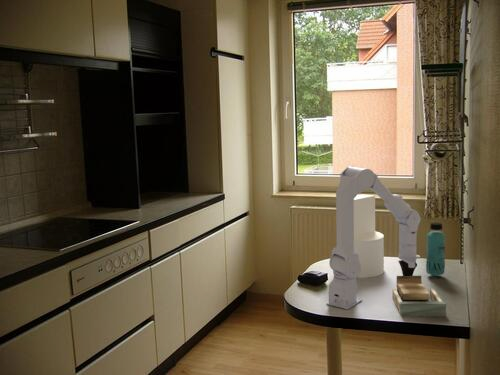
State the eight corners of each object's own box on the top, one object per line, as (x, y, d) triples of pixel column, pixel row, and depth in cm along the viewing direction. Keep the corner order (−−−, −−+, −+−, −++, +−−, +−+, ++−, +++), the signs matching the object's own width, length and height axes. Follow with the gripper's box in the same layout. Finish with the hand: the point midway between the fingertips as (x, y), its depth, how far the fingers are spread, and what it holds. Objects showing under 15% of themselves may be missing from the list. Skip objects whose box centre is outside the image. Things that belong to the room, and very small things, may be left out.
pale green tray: (445, 316, 159) (446, 303, 158) (401, 316, 160) (401, 303, 160) (433, 297, 174) (433, 285, 174) (392, 297, 176) (392, 286, 175)
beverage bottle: (422, 277, 194) (423, 223, 191) (431, 272, 199) (431, 220, 196) (439, 280, 190) (440, 225, 187) (448, 276, 194) (449, 222, 191)
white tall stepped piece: (328, 270, 207) (327, 199, 202) (358, 260, 217) (357, 193, 213) (363, 280, 193) (362, 204, 189) (393, 270, 204) (393, 198, 199)
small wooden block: (396, 290, 182) (396, 275, 181) (420, 290, 181) (420, 275, 181) (403, 303, 170) (403, 287, 170) (428, 303, 170) (429, 287, 169)
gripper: (424, 249, 174) (424, 288, 176) (415, 237, 188) (414, 274, 190) (402, 249, 174) (402, 289, 176) (394, 238, 188) (394, 275, 191)
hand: (407, 281), depth 183 cm, fingers closed
